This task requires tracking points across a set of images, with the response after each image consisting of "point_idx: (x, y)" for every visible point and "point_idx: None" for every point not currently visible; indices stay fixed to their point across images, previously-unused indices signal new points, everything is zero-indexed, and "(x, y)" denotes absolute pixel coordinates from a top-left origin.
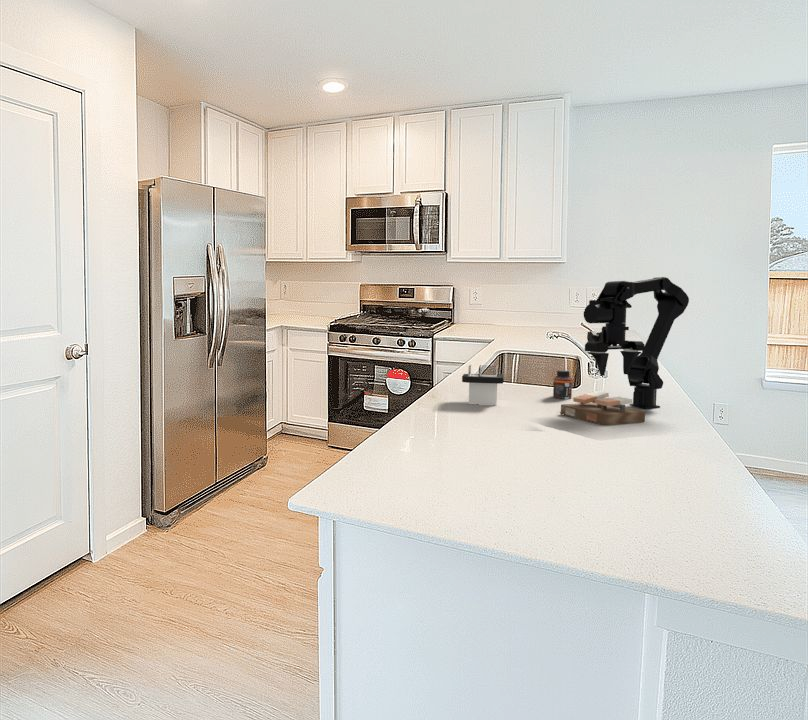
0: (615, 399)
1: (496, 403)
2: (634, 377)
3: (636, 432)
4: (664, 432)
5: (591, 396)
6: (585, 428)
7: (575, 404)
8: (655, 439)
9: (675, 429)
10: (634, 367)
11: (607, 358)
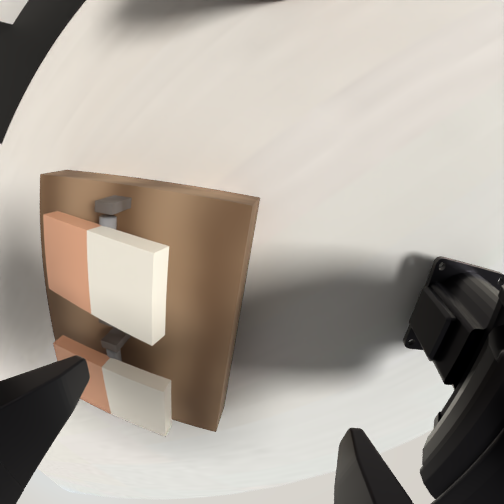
0: (110, 398)
1: (1, 21)
2: (459, 398)
3: (103, 423)
4: (156, 455)
5: (80, 290)
6: (33, 344)
7: (81, 201)
8: (100, 449)
9: (205, 463)
10: (477, 461)
11: (17, 493)
